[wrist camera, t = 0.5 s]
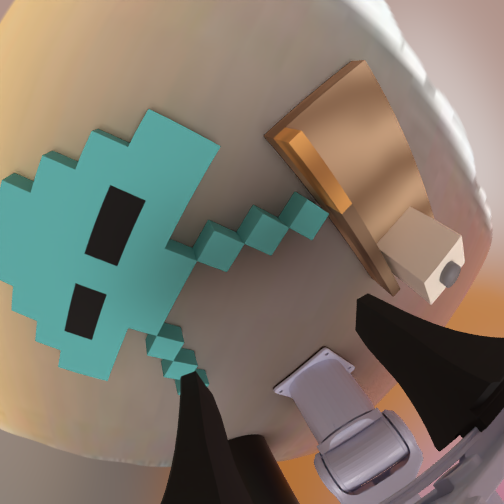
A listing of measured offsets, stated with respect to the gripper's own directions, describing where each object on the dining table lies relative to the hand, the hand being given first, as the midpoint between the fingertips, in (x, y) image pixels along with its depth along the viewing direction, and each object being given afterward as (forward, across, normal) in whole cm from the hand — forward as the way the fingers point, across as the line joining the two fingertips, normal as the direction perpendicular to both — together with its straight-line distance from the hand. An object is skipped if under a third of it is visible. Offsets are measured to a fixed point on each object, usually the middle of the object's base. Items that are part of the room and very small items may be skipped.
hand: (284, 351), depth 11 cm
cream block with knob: (+9, -15, +5) cm, 18 cm away
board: (+10, -13, 0) cm, 16 cm away
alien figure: (+11, +7, -1) cm, 13 cm away
